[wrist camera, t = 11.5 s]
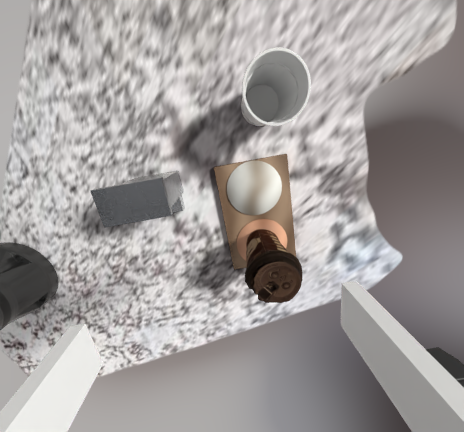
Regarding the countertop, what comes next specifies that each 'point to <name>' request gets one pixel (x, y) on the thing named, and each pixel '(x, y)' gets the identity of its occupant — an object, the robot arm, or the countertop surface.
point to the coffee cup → (271, 268)
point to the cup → (275, 88)
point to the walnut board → (255, 202)
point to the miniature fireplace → (140, 199)
